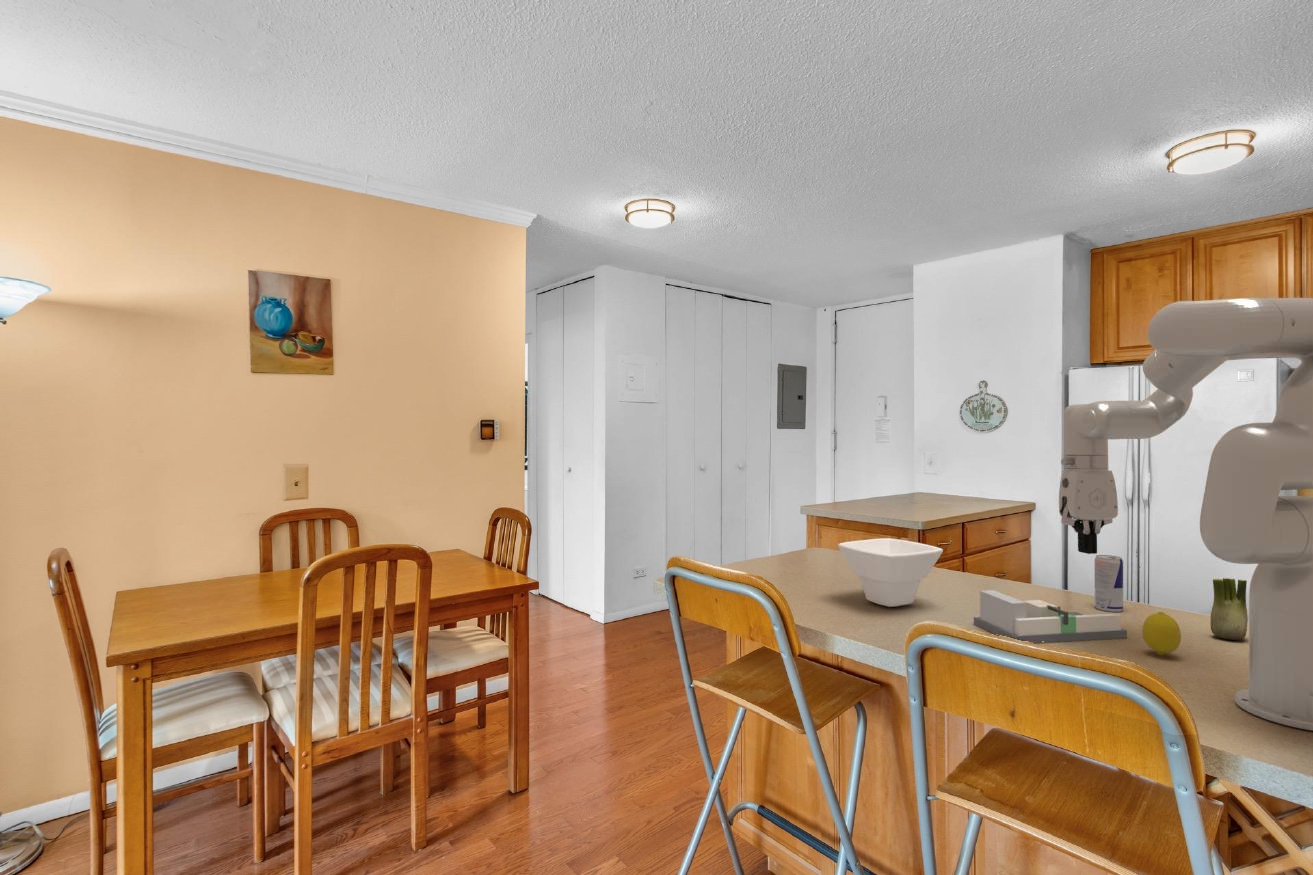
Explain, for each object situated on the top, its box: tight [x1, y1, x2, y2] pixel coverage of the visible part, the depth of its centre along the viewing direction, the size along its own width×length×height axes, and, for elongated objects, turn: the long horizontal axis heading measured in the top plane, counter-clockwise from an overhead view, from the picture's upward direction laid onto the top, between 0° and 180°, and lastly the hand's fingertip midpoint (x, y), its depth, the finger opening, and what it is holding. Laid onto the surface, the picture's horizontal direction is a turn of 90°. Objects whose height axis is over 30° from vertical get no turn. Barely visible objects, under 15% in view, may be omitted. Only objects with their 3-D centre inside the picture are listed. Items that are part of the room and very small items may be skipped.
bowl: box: [837, 537, 944, 608], centre depth 153 cm, size 19×19×14 cm
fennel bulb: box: [1210, 577, 1249, 641], centre depth 126 cm, size 6×5×12 cm
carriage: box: [1022, 599, 1069, 625], centre depth 129 cm, size 10×5×4 cm, turn 7°
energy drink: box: [1094, 554, 1124, 613], centre depth 147 cm, size 5×5×12 cm
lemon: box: [1141, 611, 1182, 656], centre depth 117 cm, size 6×6×8 cm
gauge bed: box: [973, 589, 1128, 644], centre depth 132 cm, size 13×24×8 cm, turn 97°
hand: (1087, 552), depth 132 cm, fingers closed
